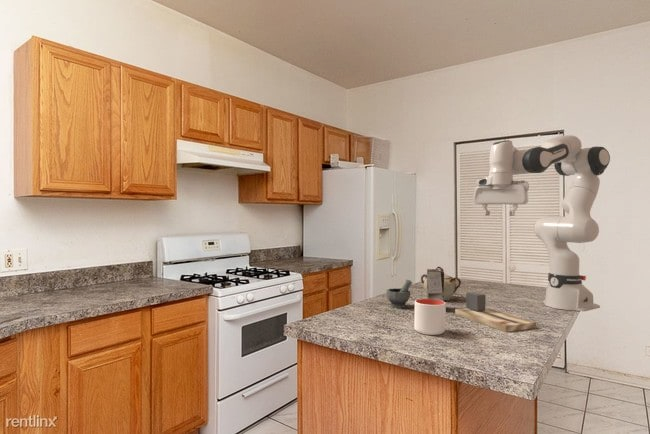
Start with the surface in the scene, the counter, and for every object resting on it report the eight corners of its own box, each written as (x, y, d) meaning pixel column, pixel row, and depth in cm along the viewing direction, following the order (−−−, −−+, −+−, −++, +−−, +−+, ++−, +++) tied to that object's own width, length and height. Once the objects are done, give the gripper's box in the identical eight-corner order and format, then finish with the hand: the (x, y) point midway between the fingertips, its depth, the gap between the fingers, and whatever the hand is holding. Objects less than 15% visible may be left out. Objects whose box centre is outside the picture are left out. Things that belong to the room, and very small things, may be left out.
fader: (474, 306, 160) (474, 291, 160) (485, 310, 154) (485, 294, 154) (466, 307, 158) (466, 292, 158) (477, 311, 153) (477, 295, 153)
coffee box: (444, 312, 160) (444, 272, 160) (427, 311, 162) (428, 271, 162) (442, 307, 169) (442, 269, 169) (426, 306, 171) (426, 268, 171)
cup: (440, 338, 126) (440, 306, 126) (409, 332, 132) (410, 302, 132) (448, 330, 135) (449, 301, 135) (419, 325, 140) (420, 297, 140)
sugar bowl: (412, 298, 187) (413, 266, 187) (428, 293, 198) (428, 263, 198) (453, 304, 174) (453, 270, 174) (467, 299, 185) (467, 267, 185)
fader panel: (482, 311, 162) (482, 306, 162) (535, 328, 139) (536, 322, 139) (455, 314, 157) (455, 308, 157) (505, 332, 134) (505, 325, 134)
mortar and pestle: (382, 306, 169) (382, 278, 169) (394, 303, 176) (394, 275, 176) (405, 311, 161) (405, 281, 161) (417, 307, 168) (417, 278, 168)
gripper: (531, 180, 155) (529, 216, 155) (478, 182, 169) (476, 215, 169) (526, 179, 151) (525, 216, 151) (472, 181, 164) (471, 214, 164)
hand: (499, 215), depth 160 cm, fingers open, 8 cm apart
